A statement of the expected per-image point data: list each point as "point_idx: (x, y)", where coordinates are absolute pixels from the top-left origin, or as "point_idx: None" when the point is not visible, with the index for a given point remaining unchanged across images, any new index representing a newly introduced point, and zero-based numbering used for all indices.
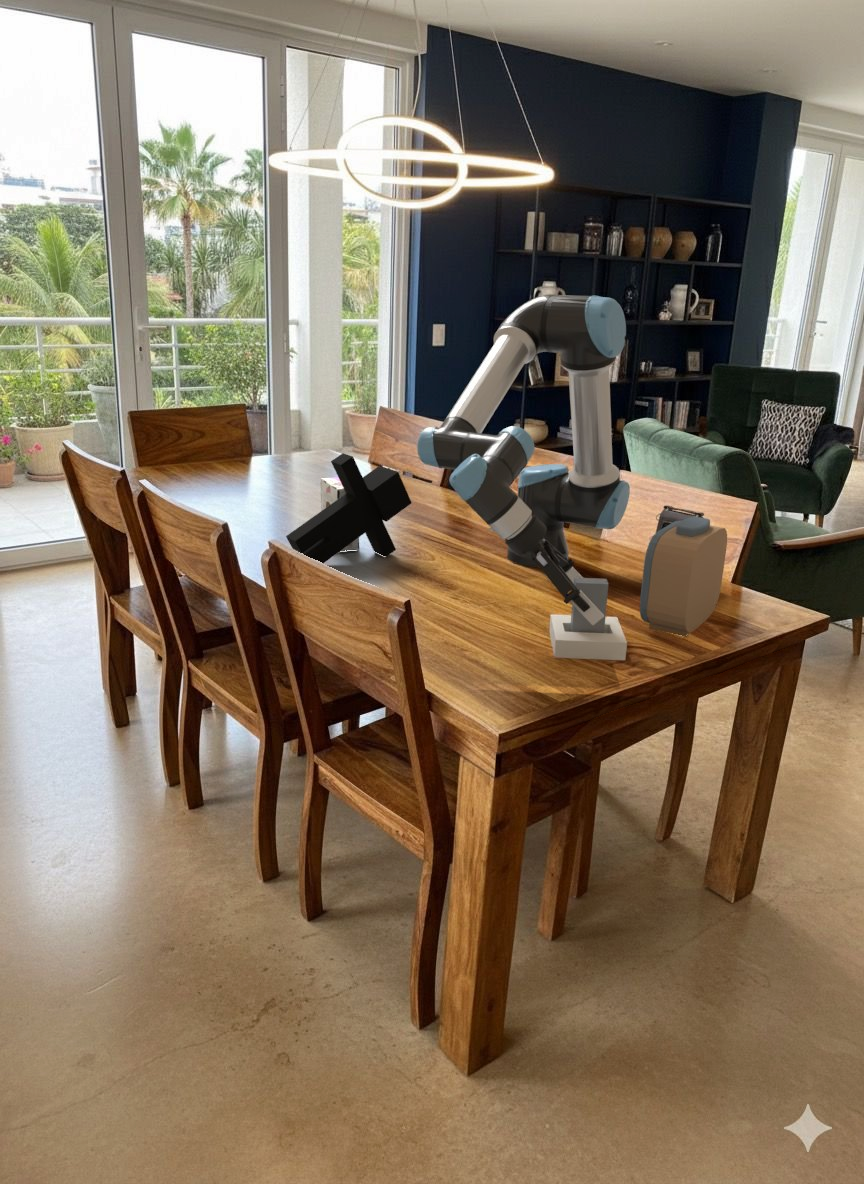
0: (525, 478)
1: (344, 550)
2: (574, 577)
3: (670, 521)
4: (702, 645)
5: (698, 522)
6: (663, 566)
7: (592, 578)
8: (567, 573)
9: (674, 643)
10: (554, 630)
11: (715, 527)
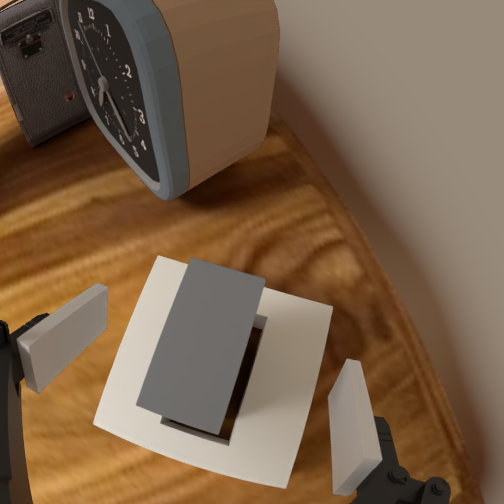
0: None
1: None
2: (56, 347)
3: (11, 24)
4: (265, 152)
5: None
6: (212, 63)
7: (168, 319)
8: (37, 373)
9: (247, 187)
10: (215, 470)
11: None
